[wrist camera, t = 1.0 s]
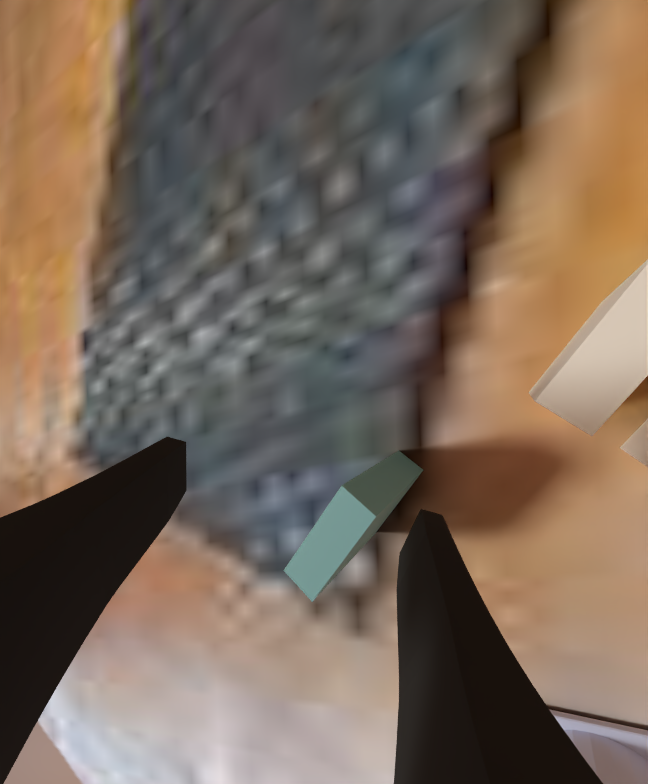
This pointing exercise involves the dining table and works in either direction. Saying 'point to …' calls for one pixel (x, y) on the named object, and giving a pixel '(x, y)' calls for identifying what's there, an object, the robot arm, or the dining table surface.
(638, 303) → the domino
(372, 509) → the domino
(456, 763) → the robot arm
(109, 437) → the dining table surface
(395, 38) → the dining table surface
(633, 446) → the domino
